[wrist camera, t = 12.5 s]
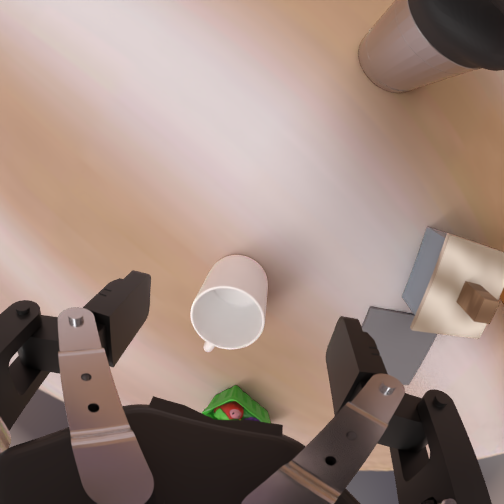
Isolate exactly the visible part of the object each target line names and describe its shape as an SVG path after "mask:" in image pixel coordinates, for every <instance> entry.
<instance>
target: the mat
mask: <svg viewBox="0 0 504 504" xmlns="http://www.w3.org/2000/svg"><path fill="white" fill-rule="evenodd" d="M414 317H415V315H414V314H410V313H404V312H398V311H392V310H387V309H381V308H376V307H370V308H369V310H368V313H367V315H366V318H365V320H364V322H363V325H362V330H363V332H367V333H368V334H369V335H370V336H371V337H372V338H373V339H374V340H375V343H376V345H377V349H378V350H379V353H380V356H381V358H382V360H383V363H384V365H385V368H386V370H387V373H388V375H391V376H393V377H395V378H397V379H398V380H399V381H400V382H401V383H402V384H403V385H409V384H410V382H411V380H412V379H413V377H414V375H415V374H416V372H417V370H418V369H419V367H420V365H421V363H422V362H423V360H424V358H425V356H426V355H427V353H428V351H429V349H430V347H431V345H432V343H433V342H434V340H435V338H436V336H437V334H435V333H428V332H420V331H413V330H411V328H410V326H411V323H412V321H413V319H414Z"/></svg>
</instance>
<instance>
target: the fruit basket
mask: <svg viewBox="0 0 504 504" xmlns="http://www.w3.org/2000/svg"><path fill="white" fill-rule="evenodd" d="M202 414H204V415H206V416H208V417H210V418H213V419H216V420H254V421H260V422H266V423H271V421H270V418H269V415H268V412H267V410H265V409H264V408H262V407H261V406H260V405H259V404H258V403H257V402H256V401H254V400H252V399H251V397H250V396H248V395H247V394H246V393H244V392H243V391H242V390H241V389H240V388H239V387H238V386H237V385H235V386H233V387H232V388H229V389H227V390H225V391H223V392H221V393H220V394H217V395H215V397H214V398H213V399H212V401H211V402H210V404H209V405H208V407H207V408H206V409H205V410H204V411H203V412H202Z"/></svg>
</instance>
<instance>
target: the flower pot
mask: <svg viewBox="0 0 504 504" xmlns="http://www.w3.org/2000/svg"><path fill="white" fill-rule="evenodd" d="M500 298H501V300H502V302H503V304H504V288H503V290H502V293H501V295H500Z"/></svg>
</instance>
